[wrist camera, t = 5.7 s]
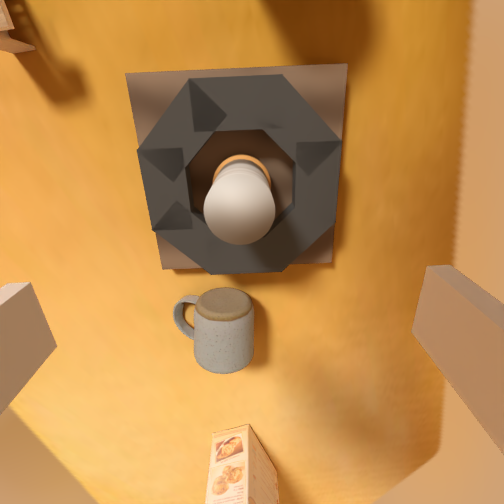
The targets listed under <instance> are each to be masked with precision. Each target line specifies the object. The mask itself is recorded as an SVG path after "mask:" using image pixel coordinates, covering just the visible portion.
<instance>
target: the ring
mask: <svg viewBox="0 0 504 504" xmlns="http://www.w3.org/2000/svg"><path fill="white" fill-rule="evenodd" d="M255 129H263V130H264V131H265V132H266V133H267V134H268V135H269V136H270V137H271V138H272V139H273V140H274V141H275V142H276V143H277V144H278V145H279V146H280V148H281V149H282V150H283V151H284V152H285V153H286V154H287V155H288V156H289V157H290V158H291V159H292V160H293V178H292V203H291V204H290V205H289V206H288V207H287V208H286V209H285V210H284V211H283V212H282V213H281V214H280V215H279V216H278V217H277V218H276V219H275V220H274V221H273V224H272V226H271V228H270V229H269V231H268V232H267V233H266V234H265V235H264V236H263V237H262V238H260V239H259V240H257V241H255V242H253V243H250V244H245V245H235V244H230V243H227V242H225V241H223V240H221V239H219V238H218V237H217V236H215V235H214V234H213V233H212V231H211V230H210V229H209V227H208V225H207V223H206V221H205V217H204V214H203V213H202V212H200V211H199V210H198V209H197V208H196V207H194V200H193V192H192V185H191V177H190V169H189V164H190V163H191V161H192V160H193V159H194V158H195V156H196V155H197V154H198V153H199V151H200V150H201V149H202V148H203V146H204V145H205V144H206V143H207V142H208V140H209V139H210V138H211V137H212V135H213V134H214V133H215V132H216V131H232V130H255ZM341 148H342V140H340V139H339V137H338V136H337V135H336V134H335V133H334V132H333V131H332V130H331V128H330V127H329V126H328V125H327V124H326V123H325V122H324V121H323V120H322V118H321V117H320V116H319V115H318V114H317V113H316V112H315V111H314V109H313V108H312V107H311V106H310V105H309V104H308V103H307V102H306V100H305V99H304V98H303V97H302V96H301V95H300V94H299V93H298V92H297V90H296V89H295V88H294V87H293V86H292V85H291V84H290V83H289V81H288V80H287V79H286V78H285V77H284V76H283V74H274V75H252V76H230V77H207V78H188V80H187V82H186V83H185V85H184V86H183V87H182V89H181V90H180V91H179V93H178V94H177V96H176V97H175V98H174V100H173V101H172V103H171V104H170V105H169V107H168V108H167V109H166V111H165V112H164V114H163V115H162V116H161V118H160V119H159V120H158V122H157V123H156V125H155V126H154V127H153V129H152V130H151V132H150V133H149V134H148V136H147V137H146V138H145V140H144V141H143V143H142V144H141V145H140V147H139V148H138V149H137V154H138V159H139V164H140V169H141V174H142V179H143V184H144V190H145V195H146V200H147V205H148V210H149V215H150V220H151V225H152V231H154V232H156V233H157V234H158V235H160V236H161V237H162V238H163V239H165V240H166V241H167V242H169V243H170V244H171V245H173V246H174V247H175V248H177V249H178V250H179V251H181V252H182V253H183V254H185V255H186V256H187V257H189V258H190V259H191V260H192V261H194V262H195V263H196V264H198V265H199V266H200V267H202V268H203V269H204V270H206V271H207V272H208V273H210V275H216V274H240V273H264V272H282V271H283V270H284V269H285V268H286V267H287V266H288V265H289V264H291V263H292V262H293V261H294V260H295V259H296V258H297V257H298V256H299V255H300V254H301V253H302V252H304V251H305V250H306V249H307V248H308V247H309V246H310V245H311V244H312V243H313V242H314V241H316V240H317V239H318V238H319V237H320V236H321V235H322V234H323V233H324V232H325V231H326V230H328V229H329V228H330V227H331V226H332V225H333V224H334V223H335V222H336V221H335V220H336V208H337V196H338V184H339V172H340V160H341Z"/></svg>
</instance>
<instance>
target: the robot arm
mask: <svg viewBox="0 0 504 504" xmlns="http://www.w3.org/2000/svg"><path fill="white" fill-rule="evenodd" d="M411 332H412V334H413V335H414V336H415V338H416V339H417V340H418V342H419V343H420V344H421V346H422V347H423V348H424V350H425V351H426V352H427V354H428V355H429V356H430V358H431V359H432V360H433V362H434V363H435V364H436V366H437V367H438V368H439V370H440V371H441V372H442V374H443V375H444V376H445V378H446V379H447V380H448V382H449V383H450V384H451V385H452V387H453V388H454V389H455V391H456V392H457V393H458V395H459V396H460V397H461V399H462V400H463V401H464V403H465V404H466V405H467V407H468V408H469V409H470V411H471V412H472V413H473V415H474V416H475V417H476V419H477V420H478V421H479V423H480V424H481V425H482V427H483V428H484V429H485V431H486V432H487V433H488V434H489V436H490V437H491V439H492V440H493V441H494V443H495V444H496V445H497V446H498V448H499V449H500V450H501V452H502V453H503V454H504V304H503V303H501V302H500V301H499V300H497V299H496V298H494V297H493V296H492V295H490V294H489V293H488V292H486V291H485V290H483V289H482V288H481V287H479V286H478V285H477V284H476V283H474V282H473V281H472V280H470V279H469V278H467V277H466V276H465V275H463V274H462V273H460V272H459V271H458V270H457V269H455V268H454V267H453V266H451V265H434V266H427V268H426V272H425V276H424V280H423V285H422V289H421V293H420V297H419V301H418V305H417V310H416V314H415V318H414V322H413V326H412V330H411ZM56 347H57V344H56V342H55V340H54V337H53V335H52V332H51V330H50V328H49V325H48V323H47V320H46V318H45V316H44V313H43V311H42V309H41V306H40V304H39V301H38V299H37V297H36V294H35V292H34V289H33V287H32V285H31V282H24V283H7V284H6V285H4V286H3V287H1V288H0V415H1V414H2V412H3V411H4V410H5V409H6V408H7V406H8V405H9V404H10V403H11V402H12V400H13V399H14V398H15V397H16V395H17V394H18V393H19V392H20V391H21V389H22V388H23V387H24V386H25V385H26V383H27V382H28V381H29V380H30V379H31V377H32V376H33V375H34V374H35V372H36V371H37V370H38V369H39V368H40V366H41V365H42V364H43V363H44V362H45V360H46V359H47V358H48V357H49V355H50V354H51V353H52V352H53V351H54V349H55V348H56Z"/></svg>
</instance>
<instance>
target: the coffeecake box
mask: <svg viewBox="0 0 504 504" xmlns="http://www.w3.org/2000/svg"><path fill="white" fill-rule="evenodd" d="M205 504H279V493H278V480H277V471H276V469H275V467H274V466H273V464H272V462H271V461H270V459H269V457H268V456H267V454H266V452H265V451H264V449H263V447H262V446H261V444H260V442H259V441H258V439H257V437H256V435H255V434H254V432H253V430H252V429H251V427H250V425H249V424H247V425H244V426H240V427H237V428H233V429H228V430H223V431H219V432H216V433H213V434H212V446H211V455H210V463H209V472H208V481H207V490H206V499H205Z"/></svg>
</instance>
